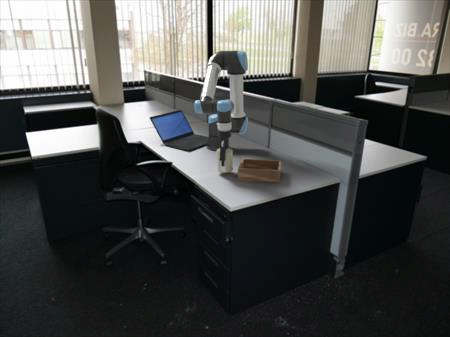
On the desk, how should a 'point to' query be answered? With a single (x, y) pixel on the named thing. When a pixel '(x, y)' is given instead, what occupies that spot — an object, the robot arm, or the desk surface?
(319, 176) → the desk surface
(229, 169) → the can
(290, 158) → the desk surface
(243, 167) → the walled box
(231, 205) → the desk surface
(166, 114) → the laptop
